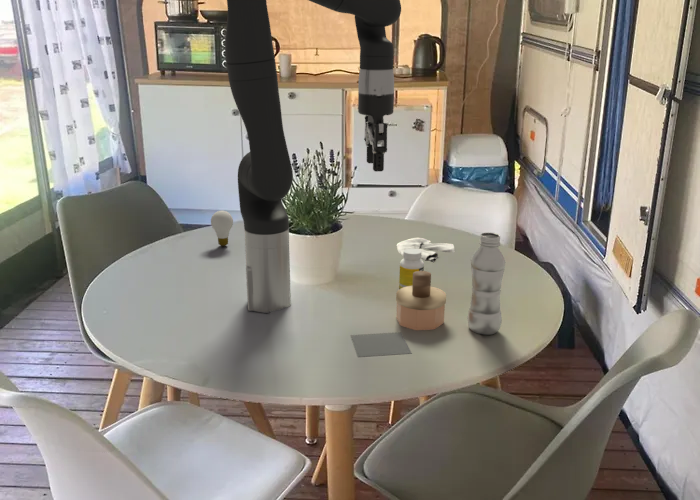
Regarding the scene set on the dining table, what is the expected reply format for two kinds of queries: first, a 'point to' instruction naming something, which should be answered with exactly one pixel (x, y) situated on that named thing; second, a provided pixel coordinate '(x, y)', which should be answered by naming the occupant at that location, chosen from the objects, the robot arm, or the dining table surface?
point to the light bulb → (222, 226)
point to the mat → (380, 344)
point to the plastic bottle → (486, 285)
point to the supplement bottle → (410, 267)
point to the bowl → (420, 318)
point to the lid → (421, 293)
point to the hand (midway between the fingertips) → (374, 166)
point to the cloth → (424, 247)
